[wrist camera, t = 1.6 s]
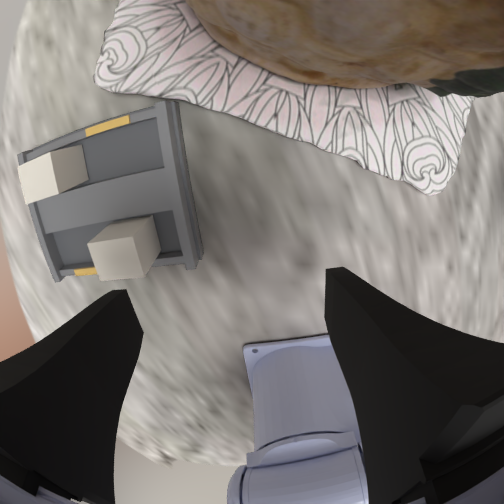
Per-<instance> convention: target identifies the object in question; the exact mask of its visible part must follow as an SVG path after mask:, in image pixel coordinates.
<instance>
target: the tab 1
mask: <svg viewBox="0 0 504 504" xmlns="http://www.w3.org/2000/svg"><path fill="white" fill-rule="evenodd" d="M17 168H18V173H19V178H20V182H21V187H22V191H23V195H24V199H25V203H26V205H27V204H29V203H32V202H35V201H38V200H41V199H44V198H47V197H51V196H54V195H57V194H60V193H62V192H64V191H66V190H68V189H70V188H72V187H74V186H76V185H78V184H80V183H83V182H85V181H87V180H89V178H88V174H87V169H86V164H85V159H84V153H83V148H82V145H77V146H73V147H68V148H64V149H60V150H56V151H52V152H49V153H46V154H44V155H42V156H40V157H37V158H35V159H33V160H31V161H29V162H26V163H24V164H22V165H20V166H18V167H17Z"/></svg>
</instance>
